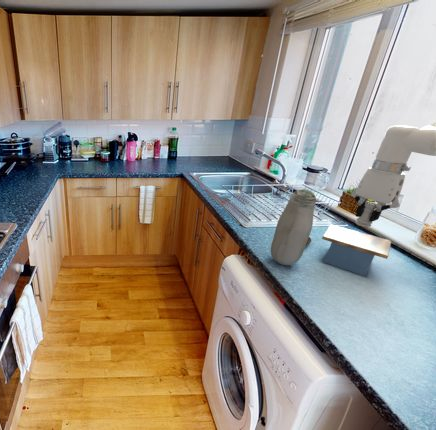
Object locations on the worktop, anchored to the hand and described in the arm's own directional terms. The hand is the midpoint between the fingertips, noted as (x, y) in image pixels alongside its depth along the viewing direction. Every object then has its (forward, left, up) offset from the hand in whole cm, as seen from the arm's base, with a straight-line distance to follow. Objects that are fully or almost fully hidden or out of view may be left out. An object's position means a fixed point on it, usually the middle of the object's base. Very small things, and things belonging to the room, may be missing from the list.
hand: (365, 217), depth 99 cm
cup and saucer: (+19, +3, -19) cm, 27 cm away
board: (0, 0, -9) cm, 9 cm away
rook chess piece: (0, 0, -3) cm, 3 cm away
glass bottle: (+10, +22, -19) cm, 30 cm away
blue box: (0, 0, -18) cm, 18 cm away
